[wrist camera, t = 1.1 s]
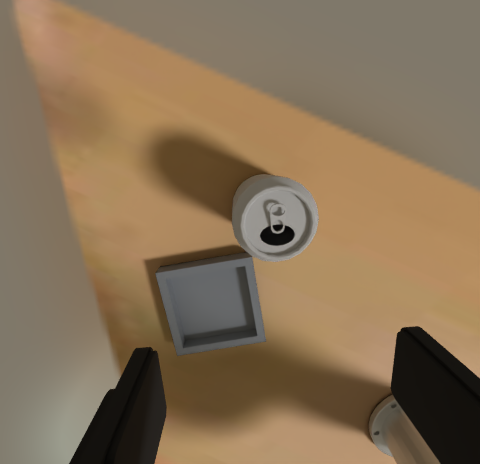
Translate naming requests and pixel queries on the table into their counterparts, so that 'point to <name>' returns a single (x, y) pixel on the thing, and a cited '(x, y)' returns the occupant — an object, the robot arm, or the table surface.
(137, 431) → the robot arm
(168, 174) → the table surface
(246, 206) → the can
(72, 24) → the table surface
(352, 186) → the table surface
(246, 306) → the tray
